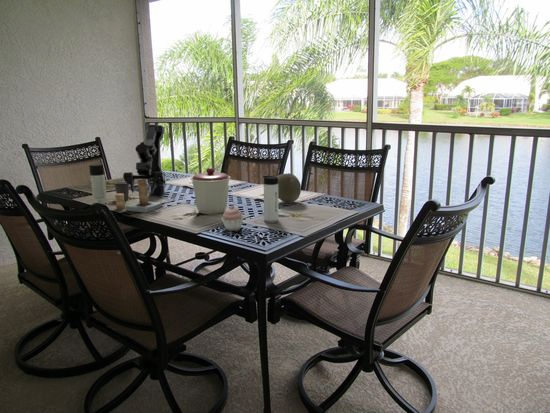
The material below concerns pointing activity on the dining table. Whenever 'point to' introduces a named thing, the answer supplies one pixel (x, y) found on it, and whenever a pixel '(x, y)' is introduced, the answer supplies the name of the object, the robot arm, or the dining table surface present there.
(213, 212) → the canister
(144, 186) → the tall pin
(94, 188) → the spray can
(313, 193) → the dining table surface
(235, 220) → the cupcake
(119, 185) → the coffee cup
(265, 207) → the travel mug
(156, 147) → the robot arm
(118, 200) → the short pin
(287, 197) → the cantaloupe
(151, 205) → the hole plate
